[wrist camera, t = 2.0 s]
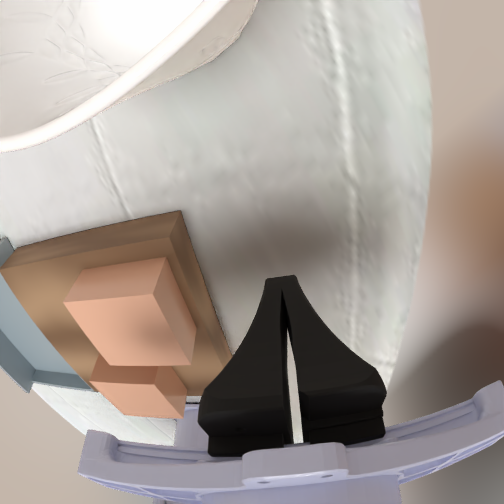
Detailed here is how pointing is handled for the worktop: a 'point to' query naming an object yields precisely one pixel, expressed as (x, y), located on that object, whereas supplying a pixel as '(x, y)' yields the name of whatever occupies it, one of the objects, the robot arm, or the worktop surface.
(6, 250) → the tray
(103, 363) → the tile far
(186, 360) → the tile near
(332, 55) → the worktop surface
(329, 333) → the robot arm
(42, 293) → the board
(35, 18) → the white cup
